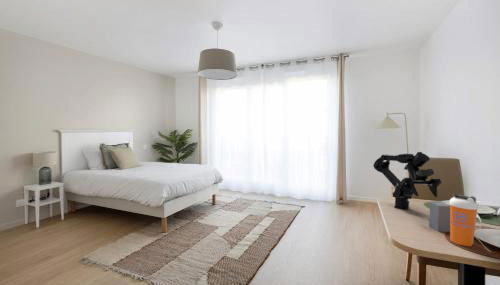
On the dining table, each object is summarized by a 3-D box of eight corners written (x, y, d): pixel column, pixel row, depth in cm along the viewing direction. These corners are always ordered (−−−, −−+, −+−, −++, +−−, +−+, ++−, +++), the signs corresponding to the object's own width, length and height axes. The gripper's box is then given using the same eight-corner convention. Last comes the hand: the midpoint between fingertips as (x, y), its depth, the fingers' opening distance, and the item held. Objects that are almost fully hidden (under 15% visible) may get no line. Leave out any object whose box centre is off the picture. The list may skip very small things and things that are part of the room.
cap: (429, 226, 114) (430, 201, 114) (441, 226, 114) (442, 202, 113) (437, 231, 109) (438, 205, 108) (450, 231, 108) (451, 205, 108)
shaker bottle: (448, 235, 104) (451, 191, 103) (476, 242, 98) (479, 196, 97) (446, 242, 98) (448, 195, 97) (475, 250, 92) (478, 200, 91)
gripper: (403, 163, 127) (415, 187, 116) (440, 163, 125) (455, 189, 115) (395, 174, 135) (405, 198, 124) (429, 175, 133) (442, 200, 123)
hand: (427, 196), depth 121 cm, fingers open, 9 cm apart
